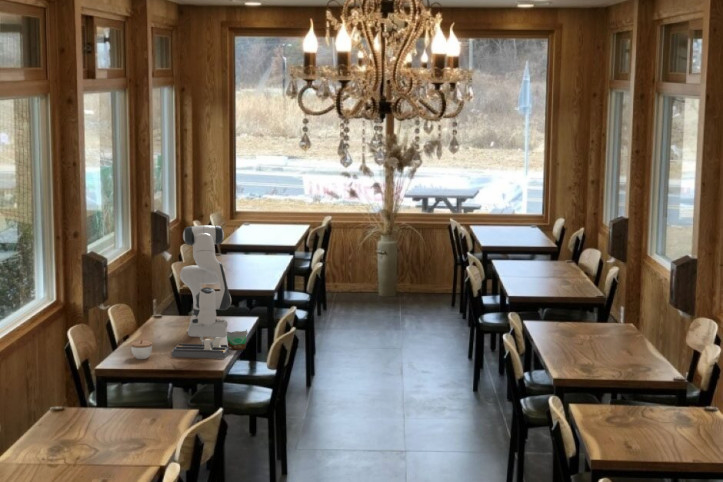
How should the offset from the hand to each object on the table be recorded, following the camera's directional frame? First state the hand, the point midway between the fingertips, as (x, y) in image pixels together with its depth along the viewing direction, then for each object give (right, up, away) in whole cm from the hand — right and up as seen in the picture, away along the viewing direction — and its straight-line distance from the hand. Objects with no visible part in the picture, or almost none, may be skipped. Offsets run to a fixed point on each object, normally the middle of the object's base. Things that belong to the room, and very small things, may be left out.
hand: (207, 344), depth 560 cm
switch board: (-4, -5, +4) cm, 8 cm away
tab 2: (+4, -2, +7) cm, 8 cm away
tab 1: (0, -3, 0) cm, 3 cm away
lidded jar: (-34, -6, -4) cm, 35 cm away
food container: (+14, -4, +16) cm, 22 cm away
